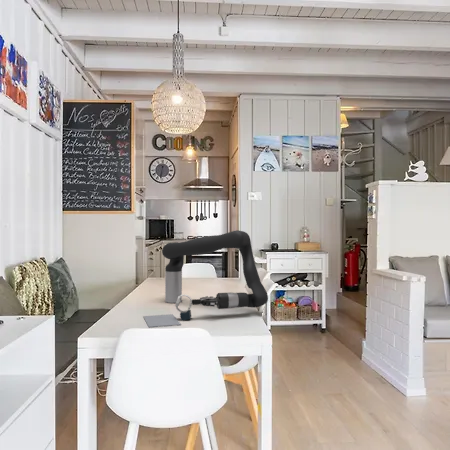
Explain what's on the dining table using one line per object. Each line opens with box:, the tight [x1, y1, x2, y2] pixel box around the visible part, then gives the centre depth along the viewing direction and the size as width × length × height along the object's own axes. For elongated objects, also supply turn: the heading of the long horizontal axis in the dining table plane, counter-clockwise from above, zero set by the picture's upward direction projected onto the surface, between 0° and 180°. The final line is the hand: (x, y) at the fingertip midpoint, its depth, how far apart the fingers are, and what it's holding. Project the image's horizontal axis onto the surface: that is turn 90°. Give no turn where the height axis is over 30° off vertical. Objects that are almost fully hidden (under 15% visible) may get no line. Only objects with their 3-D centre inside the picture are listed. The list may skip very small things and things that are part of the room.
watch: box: [174, 293, 193, 321], centre depth 190 cm, size 6×8×11 cm
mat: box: [142, 313, 182, 329], centre depth 187 cm, size 20×14×1 cm
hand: (192, 302), depth 191 cm, fingers closed
